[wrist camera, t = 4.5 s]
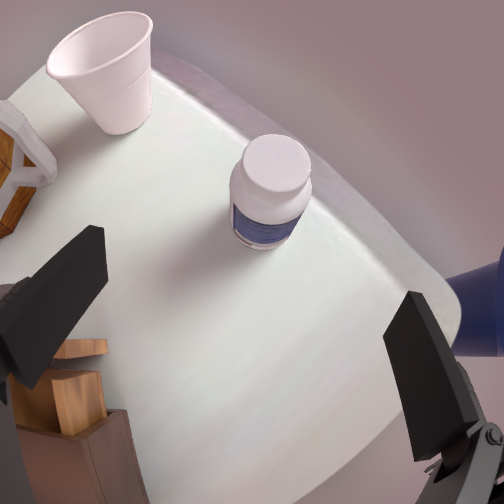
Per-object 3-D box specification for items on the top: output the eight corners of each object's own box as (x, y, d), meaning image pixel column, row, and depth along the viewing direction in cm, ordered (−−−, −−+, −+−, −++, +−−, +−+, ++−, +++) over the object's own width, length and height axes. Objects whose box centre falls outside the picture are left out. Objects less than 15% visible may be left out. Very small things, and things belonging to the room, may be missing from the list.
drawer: (14, 293, 22) (-33, 280, 15) (104, 287, 22) (62, 271, 16) (38, 459, 17) (-2, 481, 11) (131, 477, 18) (103, 514, 12)
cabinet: (24, 398, 20) (-34, 411, 11) (127, 409, 21) (80, 441, 12) (58, 511, 16) (20, 545, 8) (159, 530, 17) (138, 583, 9)
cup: (187, 97, 29) (176, 16, 18) (132, 165, 26) (92, 87, 16) (123, 77, 30) (100, 9, 19) (70, 136, 27) (27, 71, 16)
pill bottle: (301, 241, 26) (338, 191, 16) (241, 259, 25) (246, 215, 15) (280, 186, 27) (302, 118, 17) (222, 201, 26) (218, 134, 17)
